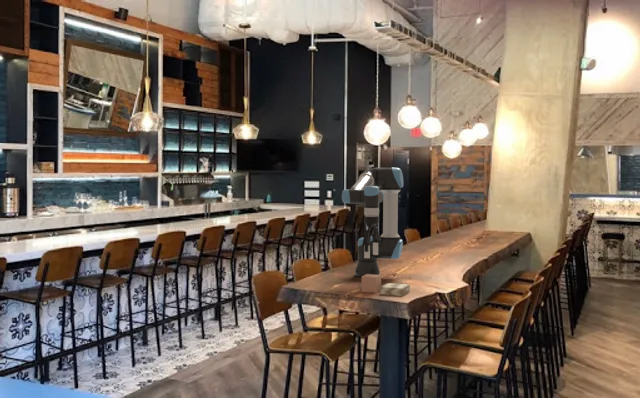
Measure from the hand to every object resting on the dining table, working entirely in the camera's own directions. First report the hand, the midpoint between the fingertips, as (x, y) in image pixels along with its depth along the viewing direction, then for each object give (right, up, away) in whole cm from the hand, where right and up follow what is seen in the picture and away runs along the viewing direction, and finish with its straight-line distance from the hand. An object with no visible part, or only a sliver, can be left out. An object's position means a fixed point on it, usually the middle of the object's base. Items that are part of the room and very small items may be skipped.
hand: (371, 256), depth 328 cm
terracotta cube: (0, -18, +1) cm, 18 cm away
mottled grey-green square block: (+12, -19, -4) cm, 23 cm away
